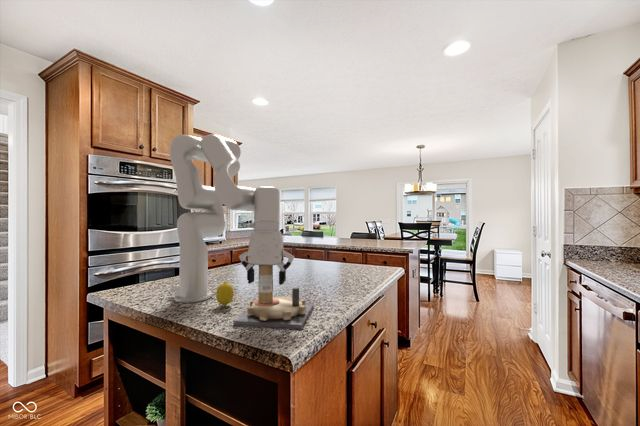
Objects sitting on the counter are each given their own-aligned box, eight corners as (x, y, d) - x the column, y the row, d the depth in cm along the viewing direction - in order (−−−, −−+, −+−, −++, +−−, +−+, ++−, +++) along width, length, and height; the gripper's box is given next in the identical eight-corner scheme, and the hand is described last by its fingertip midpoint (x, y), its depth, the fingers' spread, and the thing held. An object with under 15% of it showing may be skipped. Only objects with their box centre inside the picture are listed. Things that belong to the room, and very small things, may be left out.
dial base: (233, 325, 76) (233, 320, 76) (258, 304, 95) (258, 300, 95) (301, 329, 73) (301, 324, 73) (313, 307, 92) (313, 303, 92)
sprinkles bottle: (274, 299, 87) (274, 256, 87) (271, 304, 82) (271, 258, 82) (259, 299, 87) (260, 256, 87) (256, 304, 82) (256, 258, 82)
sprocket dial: (265, 299, 95) (265, 279, 95) (314, 304, 89) (314, 282, 90) (234, 316, 78) (235, 291, 78) (292, 324, 73) (292, 297, 73)
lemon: (225, 309, 89) (225, 284, 89) (212, 307, 91) (212, 283, 91) (237, 304, 94) (237, 281, 94) (224, 302, 96) (224, 279, 97)
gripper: (234, 227, 83) (234, 285, 82) (291, 227, 80) (290, 287, 79) (245, 226, 90) (244, 279, 89) (297, 226, 87) (296, 281, 87)
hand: (266, 283), depth 85 cm, fingers open, 9 cm apart
